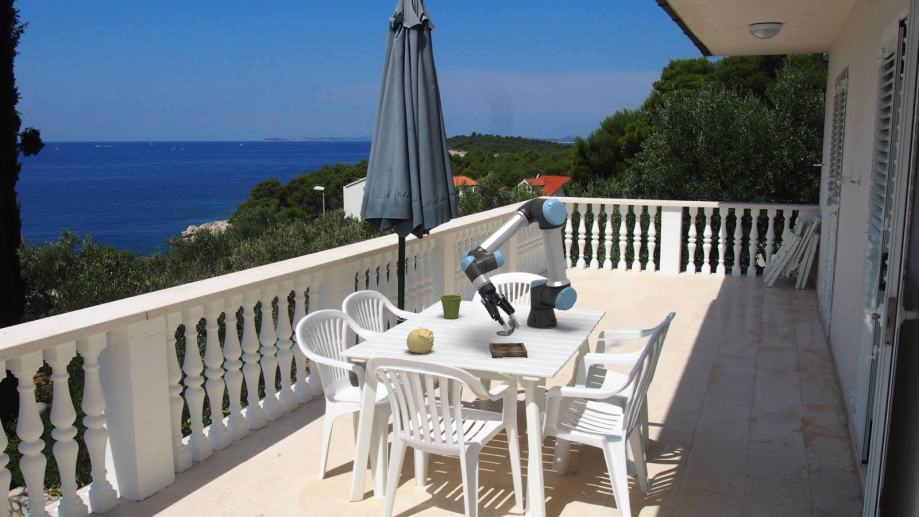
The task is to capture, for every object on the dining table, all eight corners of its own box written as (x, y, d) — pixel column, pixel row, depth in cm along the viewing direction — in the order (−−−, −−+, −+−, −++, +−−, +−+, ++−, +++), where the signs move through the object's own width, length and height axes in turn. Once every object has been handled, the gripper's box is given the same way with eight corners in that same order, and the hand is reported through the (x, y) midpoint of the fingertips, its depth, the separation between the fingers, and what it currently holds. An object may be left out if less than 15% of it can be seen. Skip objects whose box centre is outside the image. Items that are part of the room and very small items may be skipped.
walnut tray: (523, 348, 335) (523, 342, 335) (527, 357, 320) (527, 351, 320) (489, 348, 335) (489, 343, 334) (492, 358, 320) (492, 352, 320)
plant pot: (466, 316, 398) (466, 295, 396) (454, 321, 388) (454, 299, 386) (448, 314, 404) (447, 293, 403) (435, 318, 394) (435, 297, 393)
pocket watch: (495, 333, 330) (495, 310, 328) (514, 332, 330) (514, 310, 329) (497, 337, 322) (497, 315, 320) (517, 337, 322) (517, 314, 321)
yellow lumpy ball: (431, 355, 325) (430, 331, 323) (404, 354, 327) (403, 330, 325) (436, 348, 336) (436, 325, 334) (410, 347, 338) (409, 324, 336)
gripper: (494, 288, 341) (522, 329, 333) (465, 295, 327) (494, 338, 318) (503, 278, 337) (532, 319, 328) (474, 284, 323) (504, 327, 314)
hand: (513, 328), depth 323 cm, fingers closed on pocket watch, 7 cm apart
